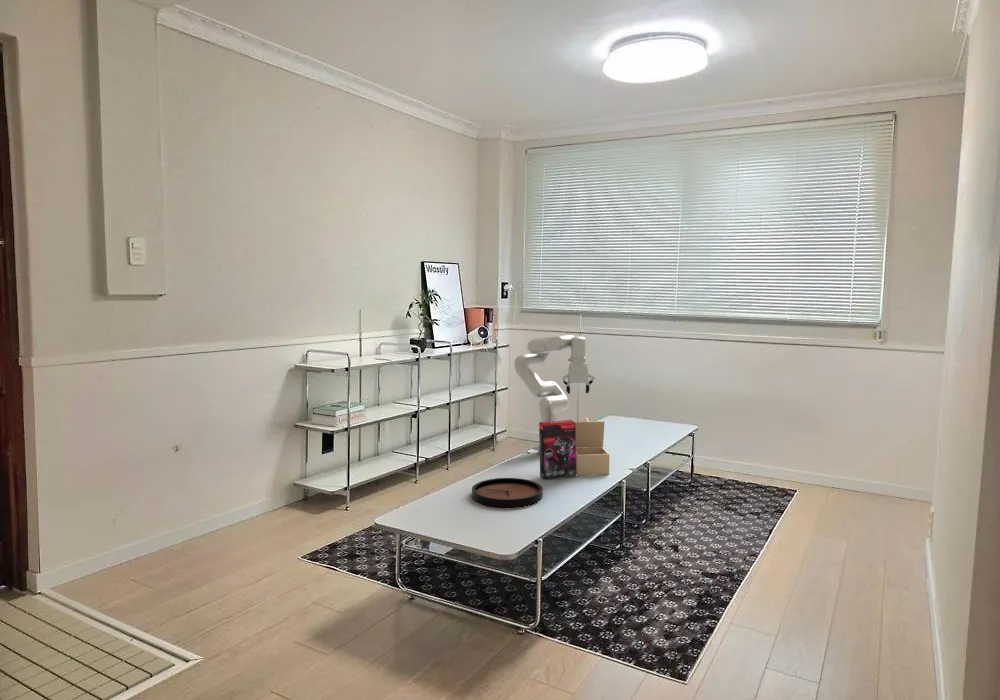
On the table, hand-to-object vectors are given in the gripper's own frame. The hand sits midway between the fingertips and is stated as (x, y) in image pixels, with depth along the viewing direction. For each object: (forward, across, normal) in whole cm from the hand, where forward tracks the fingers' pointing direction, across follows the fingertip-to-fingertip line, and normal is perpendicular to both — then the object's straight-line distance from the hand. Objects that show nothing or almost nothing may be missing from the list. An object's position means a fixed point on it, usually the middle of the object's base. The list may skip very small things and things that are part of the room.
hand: (577, 393), depth 351 cm
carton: (+36, +3, -17) cm, 40 cm away
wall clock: (+37, -42, -52) cm, 76 cm away
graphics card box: (+36, -15, -26) cm, 47 cm away
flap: (+19, +3, -11) cm, 23 cm away
